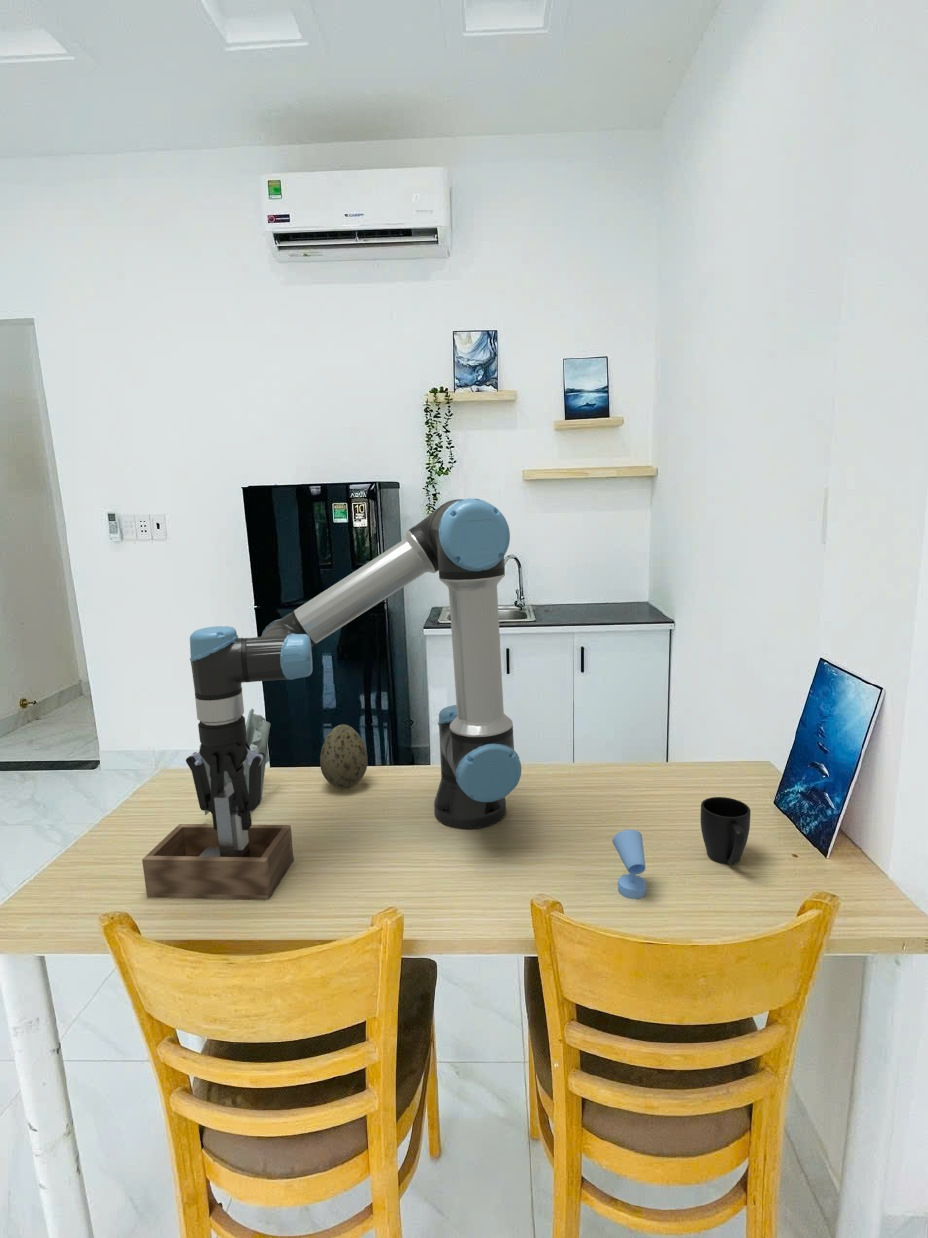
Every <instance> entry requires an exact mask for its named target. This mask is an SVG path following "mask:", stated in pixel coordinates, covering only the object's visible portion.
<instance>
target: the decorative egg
mask: <svg viewBox="0 0 928 1238" xmlns="http://www.w3.org/2000/svg"><path fill="white" fill-rule="evenodd" d="M319 755H320V756H319V764H320V765H319V766H320V767H319V768H320V770H321V773H322V775H323V777H324V779H325V781H326V782H328V783H329V784H330V785H331V786H333V787H334V788H337V789H342V790H344V789H350V788H352V787H354V786H356V785H357V784H358V783H359V782H360V781H361V780H362V779H363V777H364V775H365V774H366V772H367V769H368V768H367V767H368V761H369V760H368V751H367V747H366V746H365V741H364V740H363V739H362V737H361V736H360V734H359V733H358V732H357V730H355V729H354V727H352V726H351V725H348V724H343V723H342V724H339V725H337V726H335V727H334V728H332V729H331V731H330V732H329V733H328V734H327V736H326V738H325V740H324V741H323V744H322V747H321V751H320V754H319Z"/></svg>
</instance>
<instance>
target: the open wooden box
mask: <svg viewBox="0 0 928 1238" xmlns="http://www.w3.org/2000/svg"><path fill="white" fill-rule="evenodd" d="M248 837H249V847H250V856H249V857H199V855H200V854H201V853H202V852H203V851H204V850H205V849H206V848H207V847H219V839H218V830H215V829H214V827H213V823H210V824H209V823H179V824H178V825H177V826H175V827H174V829H173V830H171V831H170V832H169V833H168V834H167V835H166V836H165V837H164V838H163V839H162V840H161V841H160V842H159V843H158V844H157V845H155V846H154V848H153V849H152V850H150V851H149V852H148V853H147V854H146V855H145V856H144V857H143V858H142V859H141V862H142V869H143V877H144V884H145V890H146V891H145V892H146V898H160V899H161V898H163V899H164V898H166V899H167V898H168V899H171V898H172V899H208V900H209V899H211V900H212V899H213V900H214V899H215V900H254V901H255V900H256V901H269V900H270V899H271V897H272V895H273V894H274V892H275V890H277V888H278V886H279V884H280V883H281V881H282V880H283V878H284V877H285V874H286V873H287V872H288V870H289V869H290V867H291V865H292V864H293V862H294V859H295V857H294V856H295V855H294V848H293V846H294V845H293V835H292V826H291V824H251V827H250V828H249V829H248Z"/></svg>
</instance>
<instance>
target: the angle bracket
mask: <svg viewBox="0 0 928 1238" xmlns="http://www.w3.org/2000/svg"><path fill="white" fill-rule="evenodd" d="M214 802H215V812H216V821H217V830H218V839H219V847H207V848H206V849H205V850H204V851H203V852H202V853H201V854H200V855H199V857H249V856H250V847H249V843H248V844H247V845H246V846H245V848H244V849H243V850H238V841H237V832H236V822H235V815H236V813H237V812H238V811H239V810H238V806H237V802H236V798H235V793H234V789H233V785H232V783H229V784H228V785H227V786H226V787H225V788H224V789H222V790H221V791H220V792H219V793H218V794H217V795H216V796H215V797H214ZM248 839H249V837H248Z"/></svg>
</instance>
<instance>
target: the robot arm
mask: <svg viewBox="0 0 928 1238" xmlns="http://www.w3.org/2000/svg"><path fill="white" fill-rule="evenodd" d="M510 531H511V530H510V527H509V524H508V521H507V519H506V517H505V515H504V514H503V513H502V512H501V511H500V510H499V509H498V508H497V507H496V506H495V505H493V504H491V502H487V501H486V500H483V499H479V498H470V497H468V498H466V499H464V498H463V499H461V498H459V499H452V500H449V501H447V502H444V503H443V504H441V505H440V506H438V507H437V508H436V509H435V510H433V511H431V513H430V514H428V515H427V517H425V518H424V519H422V520H420V522H418V523H417V524H415V526H412V527H411V528H409V529H408V530H406V533H405V537H404V539H402V540H401V541H399V542H398V543H396V544H395V545H392V547H390V548H388V549H387V550H385V551H384V552H382V553H381V554H380V555H377V556H376V557H374V558H373V559H372V560H370V561H368V562H367V563H365V564H364V565H362V566H360V567H359V568H358V569H356V570H355V571H352V573H350V574H348V575H347V576H346V577H344V578H342V579H340V580H339V581H338V582H337V581H336V583H334V584H333V585H331V586H330V587H329V588H327V589H325V590H324V591H322V592H320V593H319V594H317V595H316V596H315V597H313V598H311V599H310V600H308V601H306V602H305V603H304V604H302V605H300V606H299V607H297V608H295V609H294V610H293V611H292V612H291V613H288V614H286V615H285V616H284V617H282V618H280V619H276V620H274V621H272V622H270V623H269V624H268V625H267V626H265V628H264V630H263V631H262V634H261V636H256V637H239V635H238V634H237V629H236V628H235V627H233V626H229V625H228V626H227V625H225V626H223V625H217V626H215V625H214V626H208V627H203V628H202V627H201V628H199V629H196V630H194V631H193V632H192V633H191V634H190V635H189V636H190V637H189V646H190V648H189V650H190V657H189V661H190V665H191V673H192V682H193V689H194V696H195V697H194V699H195V708H196V718H197V720H198V721H199V722H198V725H197V726H198V727H197V728H198V733H199V734H198V735H199V736H198V737H199V742H200V745H201V748H200V749H199V751H198V752H197V751H195V752H193V753H192V754H190V755H189V756H188V757H187V758H186V759H185V762H186V765H187V766H188V768H189V769H190V770H191V775H192V778H193V779H192V780H193V783H194V784H193V785H194V788H195V792H196V796H197V799H198V800H197V801H198V805H199V809H200V810H201V811H204V812H205V810H208V811H210V812H209V813H211V815H212V816H211V817H212V824H213V827H214V829H215V830H217V821H216V812H215V802H214V797H215V796H216V795H217V794H218V793H219V792H220V791H221V790H222V789H224V772H225V771H226V772H228V775H229V778H231V781H232V785H233V789H234V793H235V798H236V802H237V806H238V810H239V811H238V812H237V813H236V815H235V822H236V832H237V841H238V850H243V849H244V848H245V846H246V845H247V844H248V843H249V839H248V829H249V828H250V827H251V825H253V824H252V812H254V811H255V810H256V809H257V808H258V807H259V806H258V805H259V804H260V805H261V803H262V800H261V765H262V763H263V760H264V758H265V754H264V753H262V752H260V753H259V754H258V753H256V752H253V751H251V750H250V747H249V745H248V743H247V741H246V737H247V734H246V717H245V716H244V713H245V707H244V706H245V705H244V698H243V696H244V695H243V687H242V683H257V682H267V681H268V682H269V681H271V682H272V681H278V680H279V681H282V680H285V681H286V680H290V681H292V680H295V679H300V678H307V677H310V676H311V675H312V673H313V654H312V647H313V646H315V645H317V644H318V643H319V642H321V641H322V640H324V639H325V638H327V637H328V636H331V635H332V634H333V633H335V632H336V631H338V630H340V629H341V628H343V627H344V626H346V625H347V624H348V623H350V622H352V621H353V620H355V619H356V618H357V617H359V616H361V615H362V614H364V613H365V612H367V611H368V610H370V609H372V608H373V607H375V606H377V605H378V604H379V603H381V602H383V601H384V600H385V599H387V598H389V597H390V596H392V595H393V594H395V593H397V592H399V590H401V589H402V588H404V587H406V586H407V585H409V584H410V583H412V582H413V581H415V580H417V579H418V578H420V577H421V576H422V575H425V574H426V573H431V574H435V573H437V572H438V577H439V578H438V579H439V580H440V582H442V584H444V585H445V586H446V587H447V588H448V599H449V614H450V616H449V617H450V629H451V630H450V631H451V640H452V641H451V643H452V658H453V661H452V662H453V671H454V687H455V688H454V689H455V701H456V704H454V705H449V706H446V707H444V708H442V709H441V710H440V711H439V713H438V722H437V725H438V728H439V729H438V730H439V731H438V732H439V733H438V734H439V751H440V752H439V755H440V757H439V758H440V780H439V781H440V782H439V785H438V789H437V793H436V795H435V798H434V803H433V805H434V806H433V808H434V809H433V811H434V812H433V813H434V817H435V818H436V820H437V821H438V822H439V823H442V824H444V825H446V826H449V827H452V828H457V829H463V830H464V829H467V830H468V829H479V828H485V827H486V828H487V827H489V826H492V825H494V824H497V823H498V822H500V821H502V820H503V819H504V818H505V816H506V814H507V800H506V797H507V796H509V795H510V793H511V792H513V790H514V789H515V788H516V787H517V786H518V784H519V782H520V780H521V777H522V763H521V760H520V757H519V754H518V753H517V752H516V750H515V743H514V742H515V741H514V724H513V723H514V722H513V720H512V719H511V718H510V717H509V716H508V715H506V714H505V711H504V708H505V707H504V691H503V672H502V671H503V670H502V654H501V653H502V652H501V638H500V637H501V635H500V618H499V615H500V614H499V601H498V584H499V583H500V582H501V581H502V580H503V578H504V577H505V576H506V570H505V568H506V567H505V566H506V565H505V556H506V554H507V552H508V549H509V546H510V542H511V532H510ZM246 757H247V758H248V765H250V769H249V794H248V789H247V785H246V781H245V776H244V766H243V762H244V760H245V759H246ZM204 760H205V761H206V762H207V764H208V765H209V766H210V777H211V790H210V786H209V781H208V777H207V772H206V768H205V764H204ZM250 811H252V812H250Z"/></svg>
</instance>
